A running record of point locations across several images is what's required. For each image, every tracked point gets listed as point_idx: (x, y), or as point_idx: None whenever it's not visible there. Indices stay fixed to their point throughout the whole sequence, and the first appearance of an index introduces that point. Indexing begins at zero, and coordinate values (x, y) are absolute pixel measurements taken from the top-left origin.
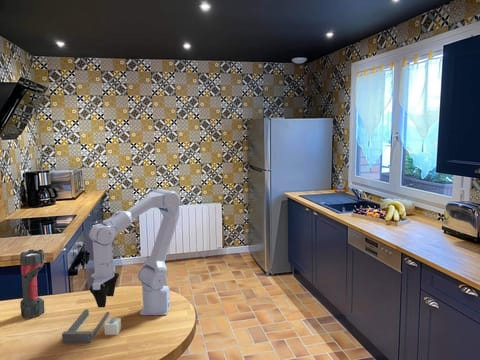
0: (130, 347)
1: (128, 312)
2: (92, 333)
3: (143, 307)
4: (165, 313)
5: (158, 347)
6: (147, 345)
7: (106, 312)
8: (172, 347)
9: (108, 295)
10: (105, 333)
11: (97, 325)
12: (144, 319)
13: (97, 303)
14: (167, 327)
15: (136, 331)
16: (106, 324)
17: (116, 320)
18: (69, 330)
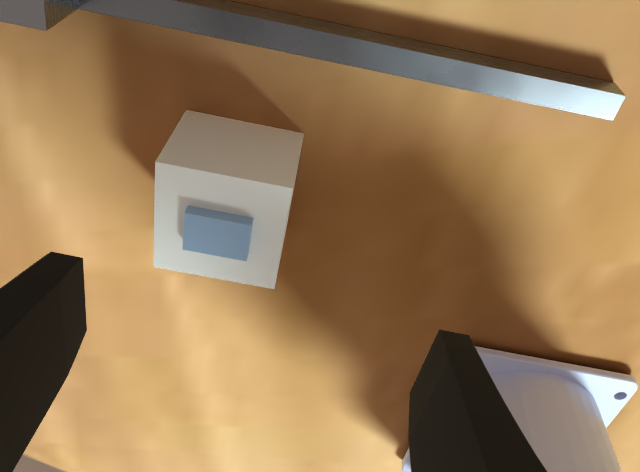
0: None
1: (559, 267)
2: (154, 5)
3: (508, 398)
4: (406, 469)
5: None
6: None
7: (612, 94)
8: (39, 455)
9: (433, 358)
10: (181, 123)
11: (320, 34)
12: (385, 362)
13: (2, 296)
14: (246, 454)
15: (219, 320)
16: (158, 183)
17: (235, 259)
18: None
